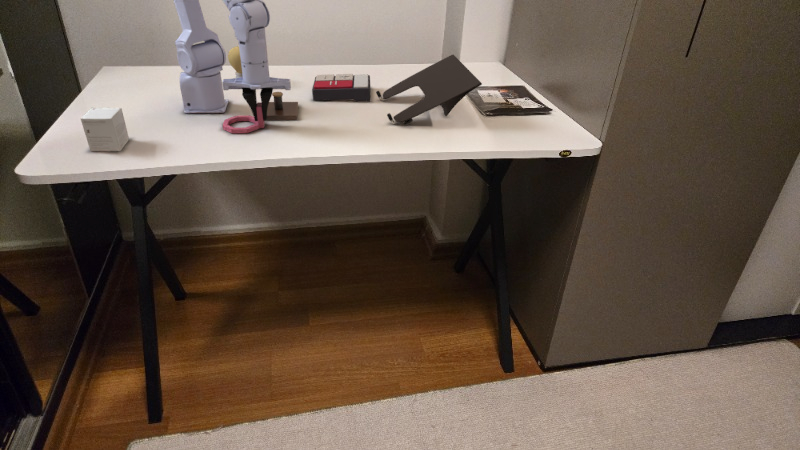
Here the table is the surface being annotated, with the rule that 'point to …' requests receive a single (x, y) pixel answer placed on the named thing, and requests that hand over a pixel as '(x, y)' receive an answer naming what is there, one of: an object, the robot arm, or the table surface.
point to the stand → (281, 109)
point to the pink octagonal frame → (257, 124)
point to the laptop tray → (434, 88)
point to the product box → (105, 129)
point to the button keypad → (342, 87)
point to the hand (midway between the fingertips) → (261, 119)
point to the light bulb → (235, 61)
